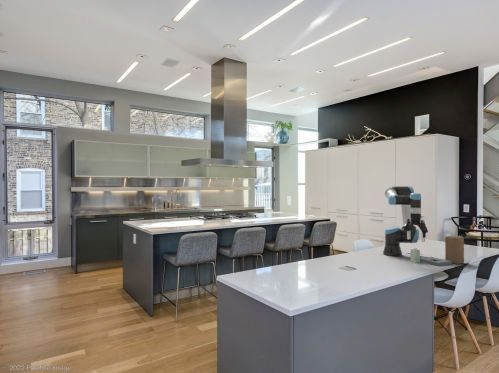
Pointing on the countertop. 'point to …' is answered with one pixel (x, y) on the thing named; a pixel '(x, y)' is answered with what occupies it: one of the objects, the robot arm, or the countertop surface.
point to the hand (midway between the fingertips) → (415, 240)
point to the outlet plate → (435, 261)
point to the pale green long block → (415, 255)
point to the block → (454, 249)
